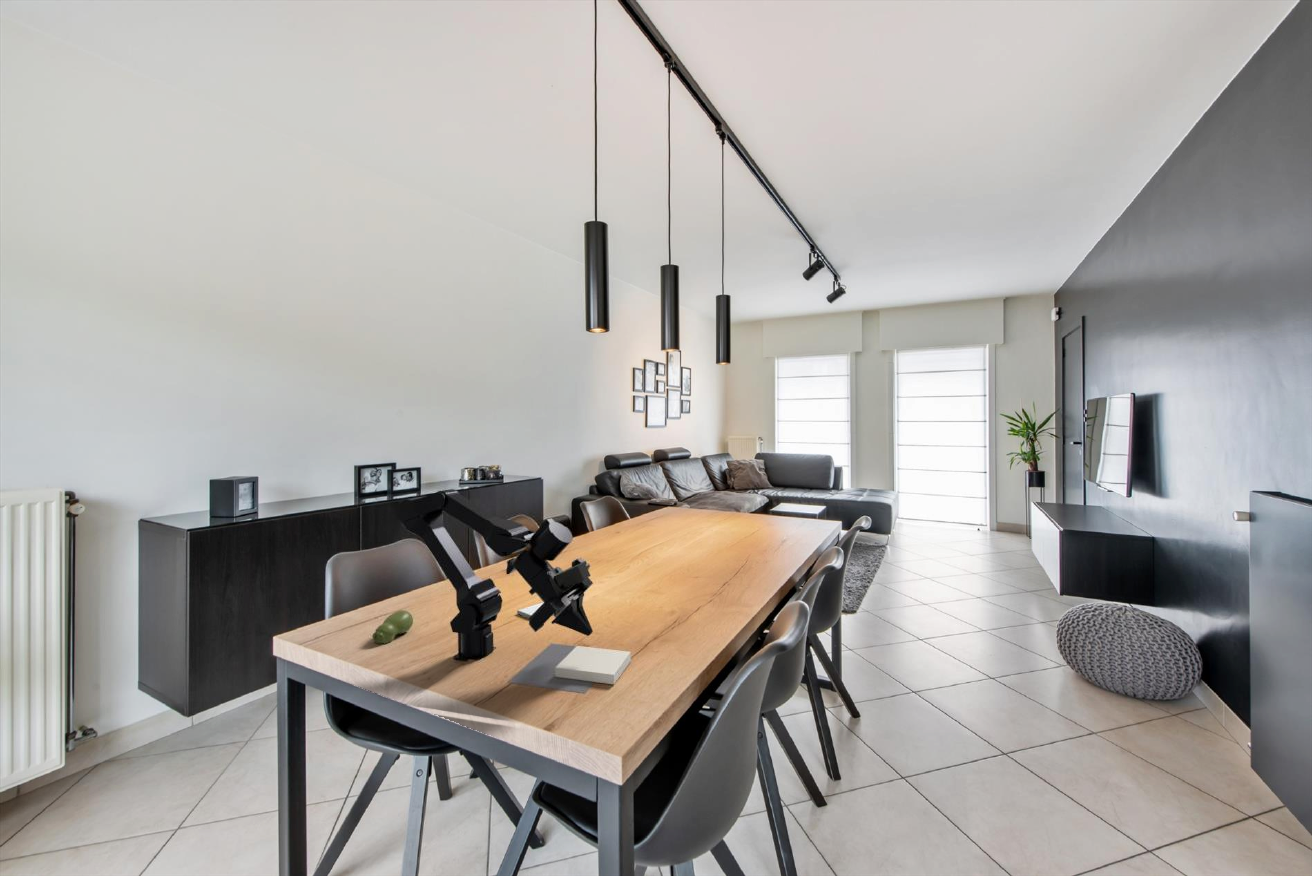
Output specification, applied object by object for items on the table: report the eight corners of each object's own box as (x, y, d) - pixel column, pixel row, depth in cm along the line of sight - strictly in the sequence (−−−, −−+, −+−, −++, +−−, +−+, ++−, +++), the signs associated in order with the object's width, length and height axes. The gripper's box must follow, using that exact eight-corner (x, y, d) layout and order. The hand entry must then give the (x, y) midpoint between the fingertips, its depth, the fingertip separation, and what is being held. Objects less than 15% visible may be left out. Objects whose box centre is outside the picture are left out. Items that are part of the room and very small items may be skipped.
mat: (506, 685, 94) (506, 682, 94) (551, 646, 111) (551, 643, 111) (585, 696, 90) (585, 693, 90) (618, 653, 107) (618, 651, 107)
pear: (416, 607, 121) (384, 630, 112) (419, 627, 122) (388, 651, 113) (397, 605, 123) (364, 627, 113) (400, 625, 124) (368, 648, 114)
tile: (555, 667, 96) (613, 674, 92) (577, 645, 105) (630, 651, 102) (555, 677, 96) (614, 685, 92) (577, 655, 105) (630, 661, 102)
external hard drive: (517, 616, 131) (554, 603, 141) (535, 623, 126) (573, 609, 136) (516, 610, 131) (554, 597, 141) (535, 617, 126) (573, 603, 136)
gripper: (542, 560, 91) (599, 625, 88) (583, 539, 109) (632, 593, 106) (505, 599, 93) (559, 664, 91) (551, 572, 111) (598, 626, 109)
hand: (590, 633), depth 99 cm, fingers closed
